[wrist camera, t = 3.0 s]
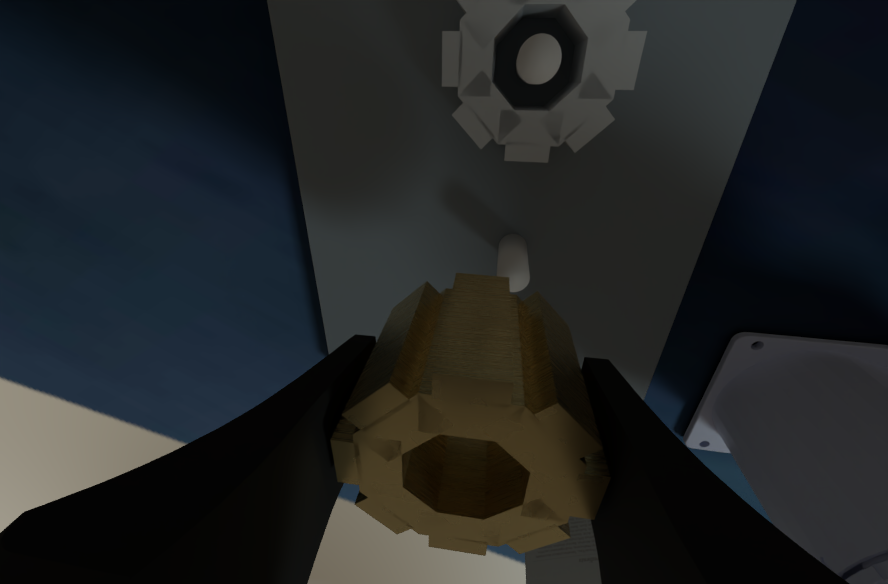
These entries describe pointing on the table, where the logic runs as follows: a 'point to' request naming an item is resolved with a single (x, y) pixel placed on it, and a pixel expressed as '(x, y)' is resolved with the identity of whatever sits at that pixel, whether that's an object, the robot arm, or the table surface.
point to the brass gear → (473, 422)
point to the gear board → (520, 151)
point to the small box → (566, 558)
